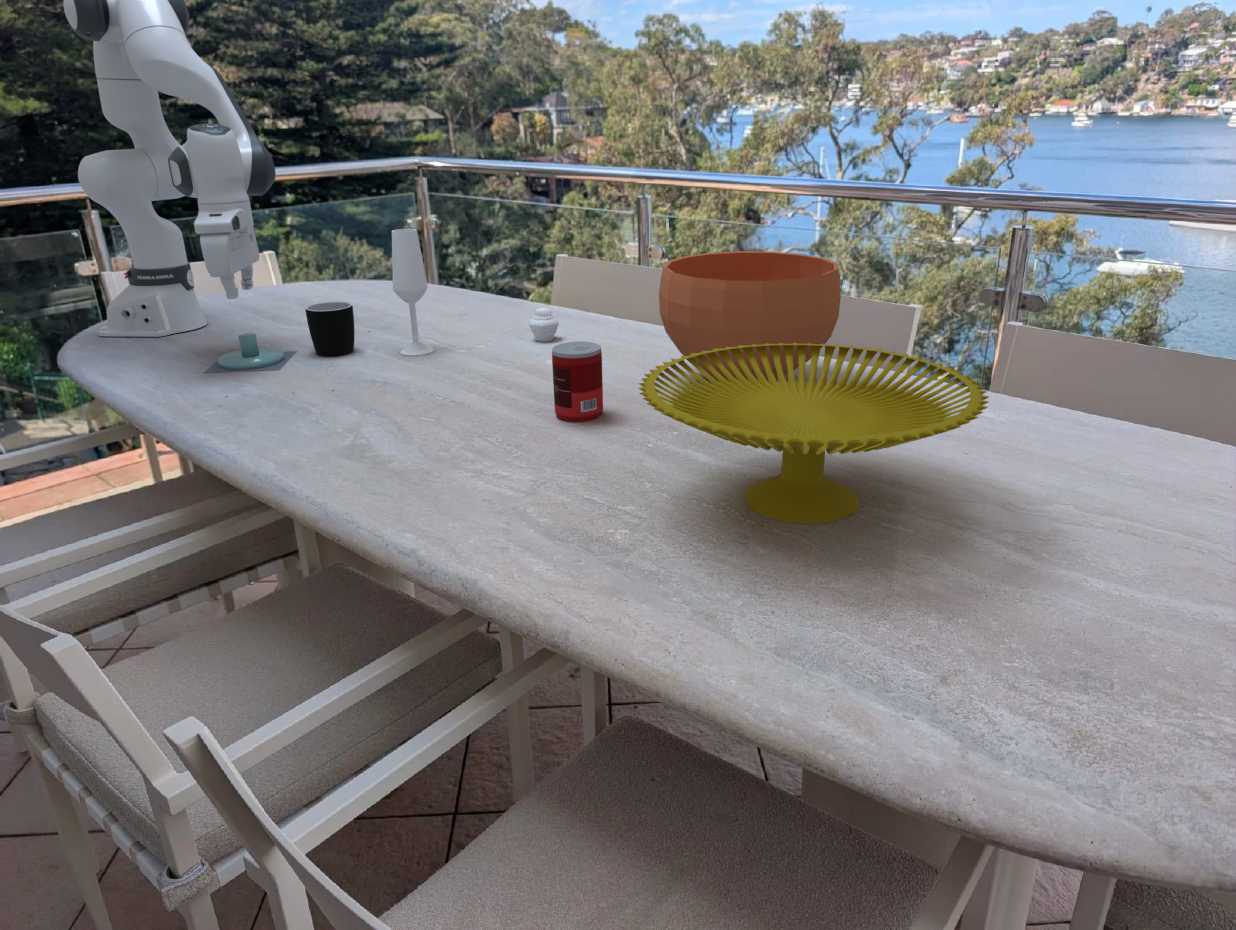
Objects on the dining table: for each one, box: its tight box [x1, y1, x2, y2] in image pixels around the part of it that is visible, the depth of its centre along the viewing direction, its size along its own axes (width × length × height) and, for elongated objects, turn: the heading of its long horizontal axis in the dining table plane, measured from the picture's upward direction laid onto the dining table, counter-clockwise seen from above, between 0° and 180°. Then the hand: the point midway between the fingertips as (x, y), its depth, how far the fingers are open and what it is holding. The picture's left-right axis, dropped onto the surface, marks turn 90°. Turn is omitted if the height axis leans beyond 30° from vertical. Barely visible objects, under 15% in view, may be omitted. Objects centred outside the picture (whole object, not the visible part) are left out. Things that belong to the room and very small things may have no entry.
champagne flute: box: [391, 228, 434, 356], centre depth 181 cm, size 7×7×24 cm
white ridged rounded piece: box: [528, 306, 559, 343], centre depth 191 cm, size 6×6×7 cm
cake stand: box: [638, 343, 990, 524], centre depth 111 cm, size 40×40×15 cm
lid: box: [217, 333, 284, 370], centre depth 176 cm, size 12×12×5 cm
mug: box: [304, 300, 356, 358], centre depth 182 cm, size 12×9×10 cm
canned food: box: [551, 341, 604, 423], centre depth 144 cm, size 8×8×11 cm
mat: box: [203, 350, 298, 374], centre depth 177 cm, size 14×14×1 cm
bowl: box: [658, 250, 842, 383], centre depth 156 cm, size 30×30×20 cm
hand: (240, 293), depth 172 cm, fingers open, 8 cm apart
